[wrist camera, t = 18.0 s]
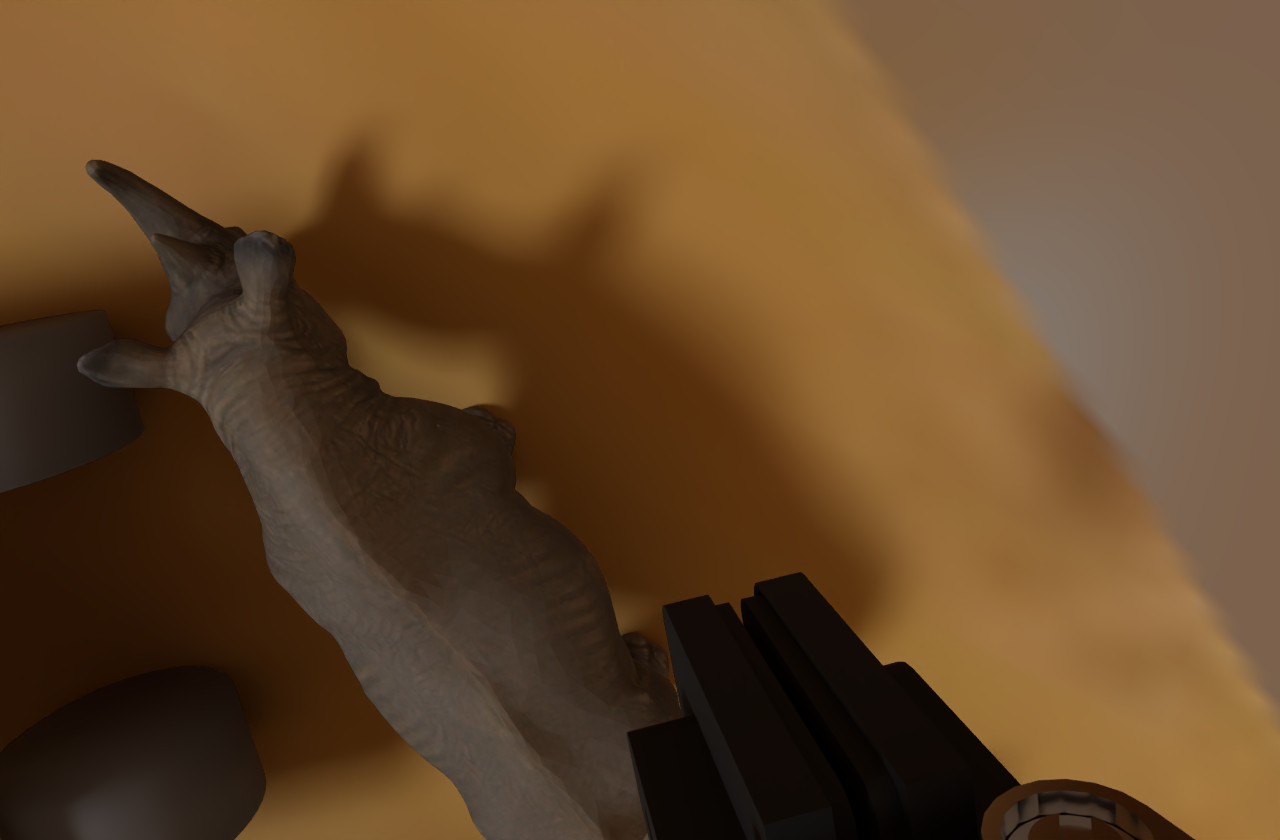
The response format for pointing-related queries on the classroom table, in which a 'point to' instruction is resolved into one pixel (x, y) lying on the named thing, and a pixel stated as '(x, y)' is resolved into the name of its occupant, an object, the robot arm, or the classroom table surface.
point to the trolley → (136, 707)
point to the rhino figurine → (404, 539)
